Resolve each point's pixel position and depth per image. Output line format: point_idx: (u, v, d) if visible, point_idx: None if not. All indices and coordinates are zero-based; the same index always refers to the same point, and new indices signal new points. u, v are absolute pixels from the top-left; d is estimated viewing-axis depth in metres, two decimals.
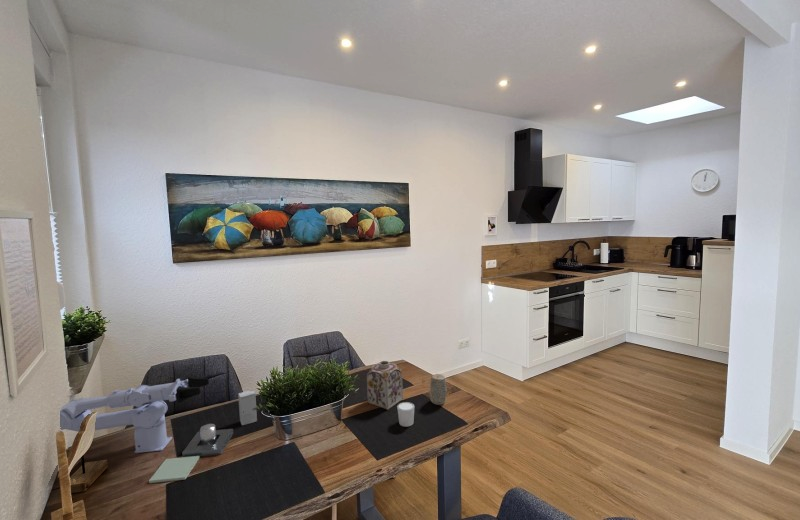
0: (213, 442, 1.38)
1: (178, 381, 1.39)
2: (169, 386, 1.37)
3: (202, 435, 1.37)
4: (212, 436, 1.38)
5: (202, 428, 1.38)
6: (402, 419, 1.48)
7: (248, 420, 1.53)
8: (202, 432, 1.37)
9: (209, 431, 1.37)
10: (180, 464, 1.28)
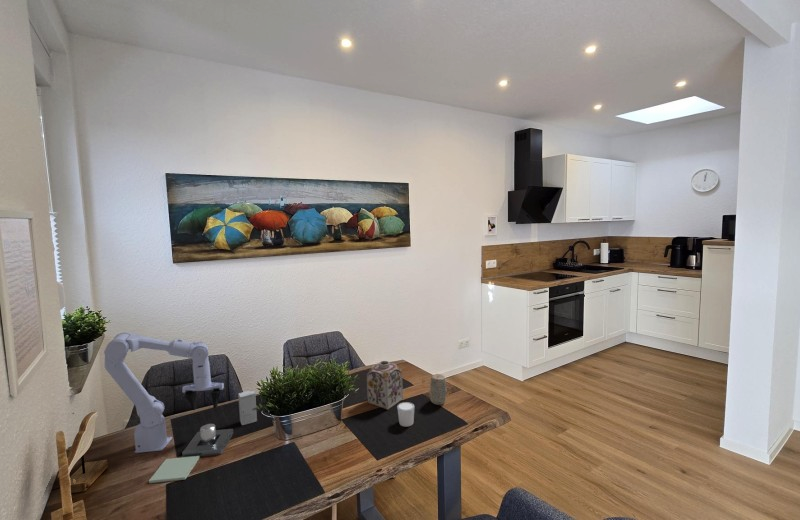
0: (213, 442, 1.38)
1: None
2: None
3: (202, 435, 1.37)
4: (212, 436, 1.38)
5: (202, 428, 1.38)
6: (402, 419, 1.48)
7: (248, 420, 1.53)
8: (202, 432, 1.37)
9: (209, 431, 1.37)
10: (180, 464, 1.28)
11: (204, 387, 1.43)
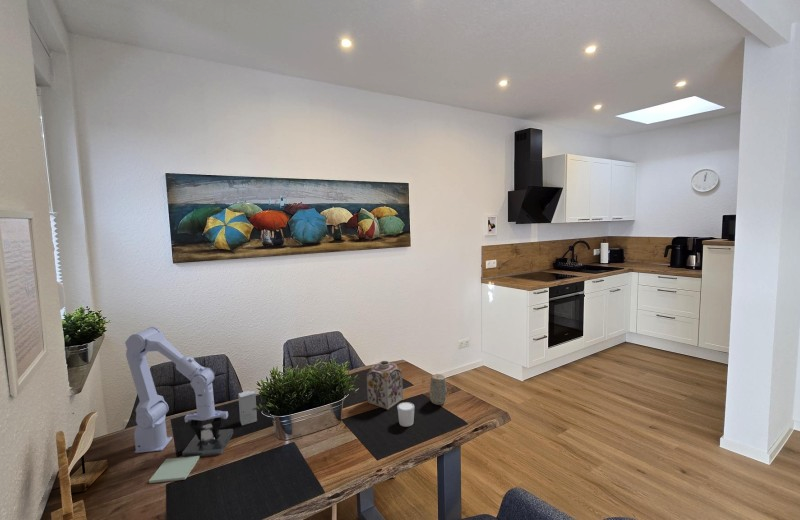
0: (213, 442, 1.38)
1: None
2: None
3: (202, 435, 1.37)
4: (212, 436, 1.38)
5: (202, 428, 1.38)
6: (402, 419, 1.48)
7: (248, 420, 1.53)
8: (202, 432, 1.37)
9: (209, 431, 1.37)
10: (180, 464, 1.28)
11: (207, 416, 1.36)
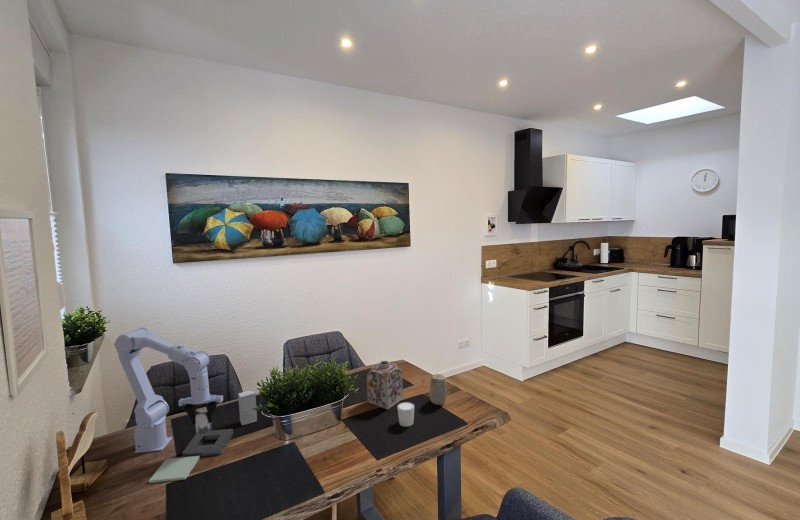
0: (208, 426, 1.36)
1: None
2: None
3: (196, 419, 1.35)
4: (207, 421, 1.36)
5: (196, 412, 1.36)
6: (402, 419, 1.48)
7: (248, 420, 1.53)
8: (196, 416, 1.34)
9: (204, 415, 1.35)
10: (180, 464, 1.28)
11: (202, 400, 1.34)
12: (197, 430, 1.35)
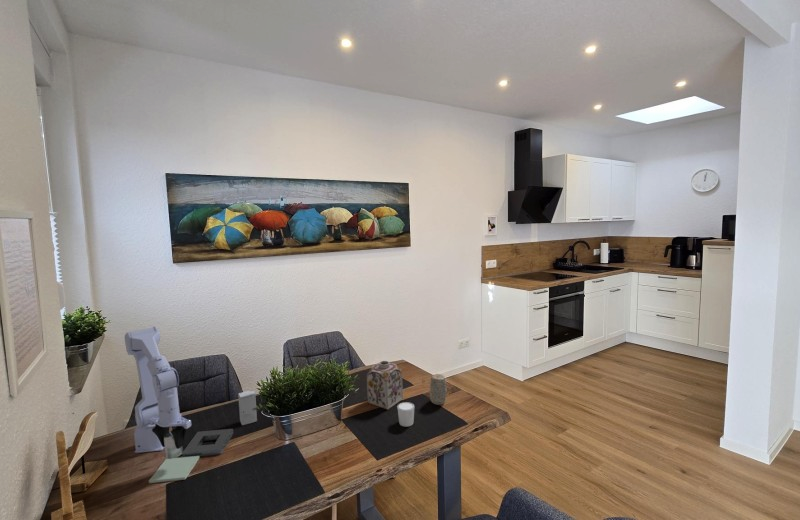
0: (175, 452, 1.24)
1: None
2: None
3: (164, 442, 1.24)
4: (174, 446, 1.23)
5: (167, 434, 1.25)
6: (402, 419, 1.48)
7: (248, 420, 1.53)
8: (164, 439, 1.23)
9: (170, 439, 1.23)
10: (180, 464, 1.28)
11: (167, 423, 1.21)
12: None
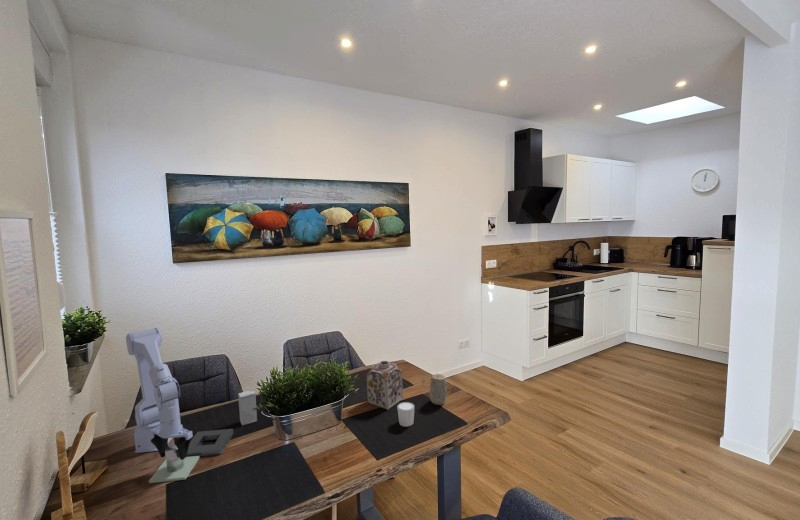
0: (176, 465, 1.24)
1: None
2: None
3: (165, 456, 1.24)
4: (175, 459, 1.24)
5: (168, 447, 1.26)
6: (402, 419, 1.48)
7: (248, 420, 1.53)
8: (165, 452, 1.24)
9: (171, 453, 1.23)
10: None
11: (168, 435, 1.22)
12: None
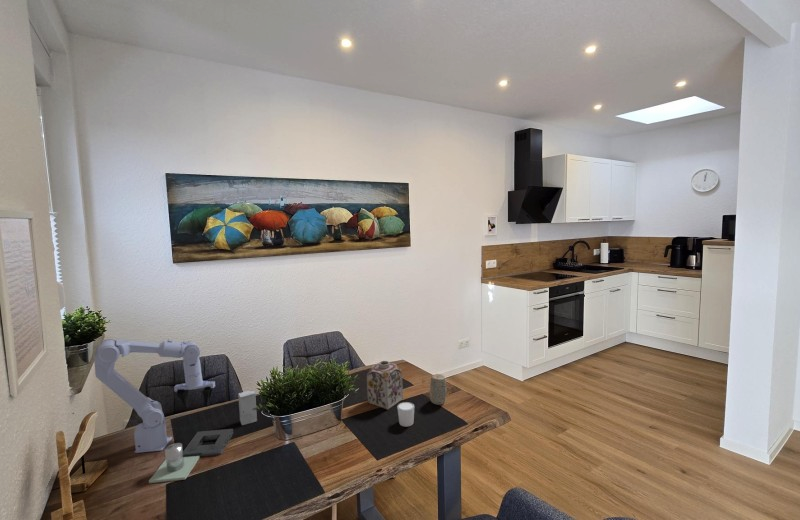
0: (176, 465, 1.24)
1: None
2: None
3: (165, 455, 1.24)
4: (175, 459, 1.24)
5: (168, 447, 1.26)
6: (402, 419, 1.48)
7: (248, 420, 1.53)
8: (165, 452, 1.24)
9: (171, 453, 1.23)
10: None
11: (195, 386, 1.44)
12: None
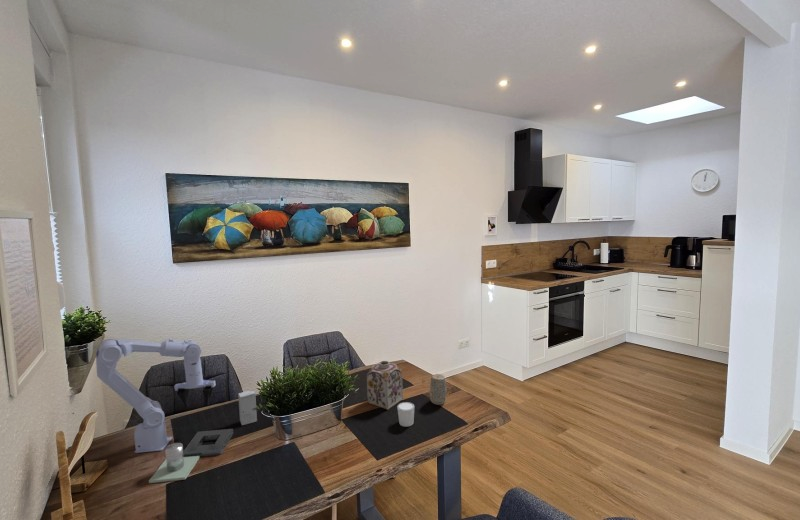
0: (177, 465, 1.24)
1: None
2: None
3: (166, 455, 1.24)
4: (175, 459, 1.24)
5: (168, 447, 1.26)
6: (402, 419, 1.48)
7: (248, 420, 1.53)
8: (165, 452, 1.24)
9: (172, 452, 1.23)
10: None
11: (196, 385, 1.45)
12: (167, 467, 1.25)
